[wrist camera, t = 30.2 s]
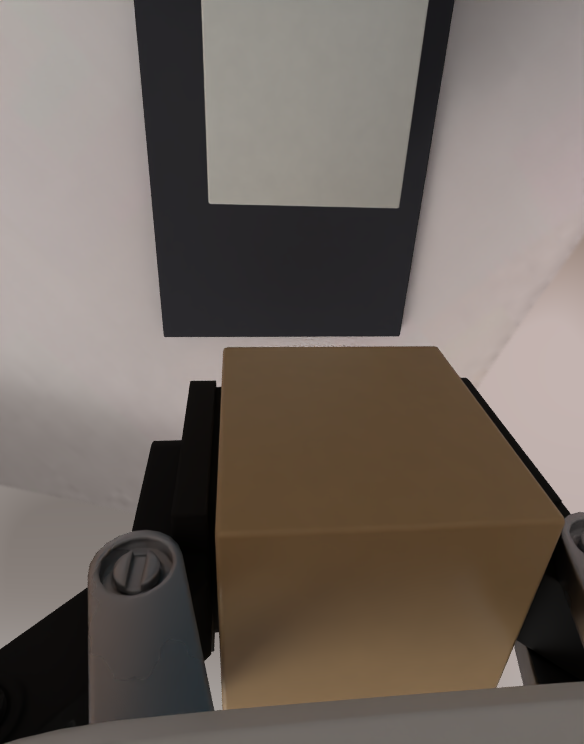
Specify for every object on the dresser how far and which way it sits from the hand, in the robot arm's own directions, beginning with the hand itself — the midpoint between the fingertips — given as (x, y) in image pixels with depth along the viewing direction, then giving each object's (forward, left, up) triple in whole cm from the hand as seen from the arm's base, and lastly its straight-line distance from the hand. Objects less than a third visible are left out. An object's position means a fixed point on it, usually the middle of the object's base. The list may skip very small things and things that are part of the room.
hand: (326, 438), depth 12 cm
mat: (-3, 0, -11) cm, 11 cm away
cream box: (-7, 0, -10) cm, 12 cm away
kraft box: (0, 0, 0) cm, 0 cm away
